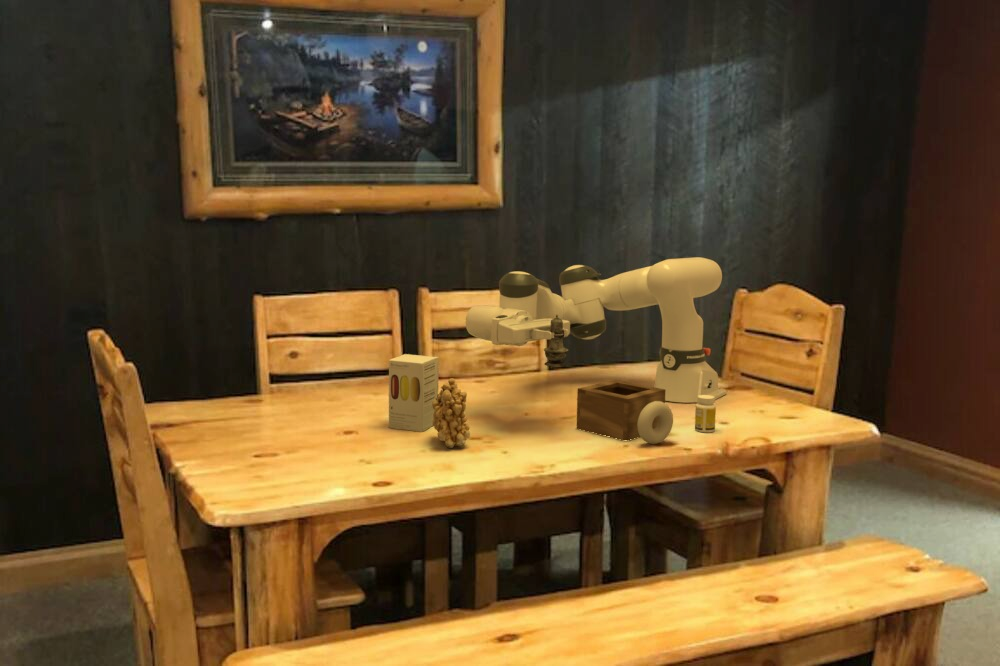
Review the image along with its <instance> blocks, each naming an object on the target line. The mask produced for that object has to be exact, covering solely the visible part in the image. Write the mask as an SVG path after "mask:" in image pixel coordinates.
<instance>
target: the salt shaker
mask: <svg viewBox="0 0 1000 666" xmlns="http://www.w3.org/2000/svg"><path fill="white" fill-rule="evenodd" d="M550 331H553V332H554V339H550V340H549V344H548V346H547V347H545V348H543V351H544V355H545V357H546V358H547V359H548V360H547V361H545V362H544V365H545V366H546V367H551V368H552V367H554V368H558V367H559V368H561V367H566V366H568V365H567V362H565V361H563V360H565V359H566V357H567V355H568V352H569V349H568V348H567V347H565V346H564V343H563V340H564V339H563V338H564V337H563V335H564V333H563V321H562V320H561V319H559V318H558V315H556V318H554V319H552V320H551V329H550Z"/></svg>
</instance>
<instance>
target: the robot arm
mask: <svg viewBox="0 0 1000 666" xmlns="http://www.w3.org/2000/svg"><path fill="white" fill-rule="evenodd" d="M722 272H723V271H722V269H721V267H720V265H719V264H718V263H717V262H716V261H714V260H712V259H709V258H705V257H702V256H701V257H699V256H698V257H697V256H696V257H683V258H668V259H664V260H662V261H658V262H657V263H655V264H653V265H650V266H646V267H642V268H636V269H633V270H629V271H626V272H622V273H619V274H615V275H614V276H612V277H609V278H607V279H601V278H599V277H600V276H602V273H600V272H599V273H598V272H597V271H596V270H595V269H594V268H593V267H590V265H589V266H588V265H583V264H574V265H572V266H569V267H567V268H566V269H565V270H563V271H561V272H560V274H559V278H558V279H559V280H558V281H559V282H558V283H559V287H560V290H561V295H558V294H557V293H553V292H552V290H551V288H550V286H549V284H548V283H547V282H545V281H543V280H541V279H538V278H536V276H535V275H533V274H531V273H528V272H525V271H518V270H517V271H510V272H507V273H506V274H504V275H503V276H502V277H501V278H500V280H499V281H498V284H499V285H498V286H499V288H498V291H499V302H498V303H499V306H496V305H475V306H474V305H473V306H471V308H469V309H468V310H467V311H468V312H466V317H465V328H466V329H465V330H466V331H467V332H468V334H470V335H471V336H473V337H475V338H478V339H480V340H484V341H488V342H491V344H492V345H496V346H503V345H504V346H505V345H506V346H515V347H523V346H525V345H527V344H528V343H529V342H536V341H540V340H541V341H542V340H549V341H550V339H554V332H553V331H550V329H551V320H552V319H554V318H556V315H558V318H559V319H561V320H562V321H563V333H564V335H563V338H566V337H569V335H572V336H573V337H575V338H576V339H579V340H581V339H582V340H593V339H595V338H597V337H599V336H601V334H603V333H605V332H606V329H607V319H606V317H605V310H604V309H607V310H609V311H630V310H631V311H632V310H636V309H641V308H646V307H651V306H655V305H658V307H659V310H660V315H661V321H662V322H661V323H662V324H661V325H662V326H661V327H662V329H661V330H662V331H661V333H662V334H661V346H660V348H659V360H660V362H659V363H658V364H657V366H656V372H655V377H654V378H655V379H654V385H653V387H655V388H660V389H665V390H666V392H665V402H671V403H673V402H674V403H684V404H685V403H698V402H697V400H698V396H699V395H711V396H714V397H715V400H718V399H719V398H721V397H723V396H725V395H727V389H724V388H720V387H719V375H718V374H719V373H718V372H717V371H715V369H714V368H712V367H711V366H710V364H708V362H707V360H706V359H707V358H706V356H710V355H711V350H712V349H711V348H710V347H703V341H704V320H703V318H702V317H701V316H700V315H699V314H698V313H697V311H696V308H695V304H694V303H695V302H694V299H695V298H700V297H705V296H707V295H709V294H712V293H713V292H715V291H717V290H718V289H719V288H720V285H721V283H722V281H723V273H722ZM598 276H599V277H598Z"/></svg>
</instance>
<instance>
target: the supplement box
mask: <svg viewBox="0 0 1000 666" xmlns="http://www.w3.org/2000/svg"><path fill="white" fill-rule="evenodd" d="M439 364H440V362H439V356H428V355H418V354H410V353H408V354H407V353H404V354H402V355H399V356H397V357H394V358H390V359H389V360H388V428H389V429H396V430H404V431H405V430H406V431H412V432H421V433H423V432H425V431H427V430H429V429H431V428H432V427H434V425H433V424H432V422H433V419H434V417H433V414H434V411H435V410H434V409H433V407H432V402H433V401H434V400H436V398H437V395H438V394H439Z"/></svg>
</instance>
